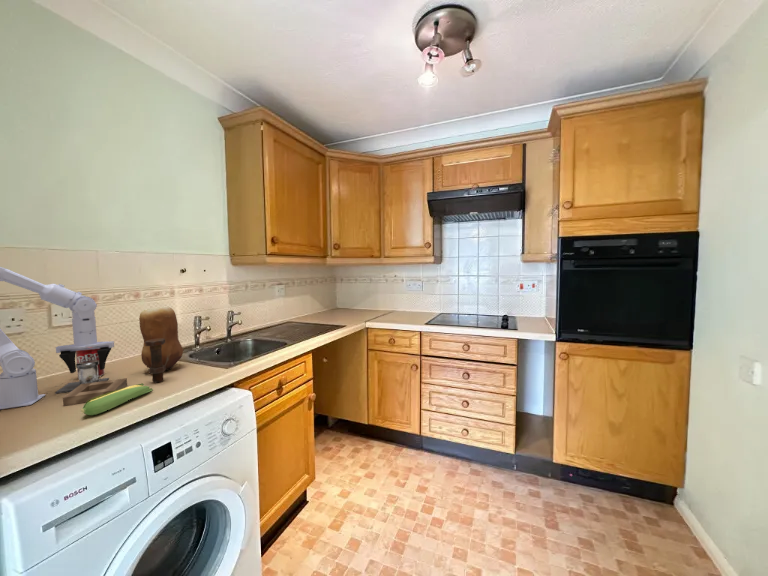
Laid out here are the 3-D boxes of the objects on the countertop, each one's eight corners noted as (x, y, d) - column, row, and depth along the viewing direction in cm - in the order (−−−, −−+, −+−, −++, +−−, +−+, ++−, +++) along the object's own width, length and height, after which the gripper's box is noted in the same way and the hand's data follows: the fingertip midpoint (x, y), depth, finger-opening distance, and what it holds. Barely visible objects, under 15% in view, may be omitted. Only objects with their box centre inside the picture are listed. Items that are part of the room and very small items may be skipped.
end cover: (75, 389, 103) (73, 366, 102) (81, 384, 108) (79, 361, 107) (97, 386, 106) (95, 363, 105) (102, 381, 111) (101, 359, 110)
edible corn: (76, 419, 85) (74, 402, 84) (147, 390, 104) (146, 376, 104) (90, 420, 83) (89, 404, 83) (159, 391, 103) (158, 377, 102)
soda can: (105, 376, 117) (103, 345, 117) (78, 382, 112) (75, 349, 111) (103, 372, 122) (101, 342, 122) (77, 377, 117) (74, 345, 116)
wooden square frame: (63, 406, 92) (62, 397, 92) (81, 391, 103) (81, 384, 103) (115, 398, 97) (114, 390, 97) (127, 385, 108) (126, 378, 108)
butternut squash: (150, 366, 129) (146, 306, 127) (188, 362, 133) (184, 304, 131) (135, 377, 116) (130, 310, 114) (177, 373, 120) (173, 308, 118)
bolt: (165, 377, 115) (162, 337, 114) (170, 380, 112) (167, 339, 111) (146, 382, 110) (143, 340, 109) (150, 385, 107) (147, 342, 106)
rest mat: (55, 393, 102) (55, 392, 101) (69, 384, 110) (68, 382, 110) (99, 387, 106) (99, 386, 106) (109, 379, 114) (108, 377, 114)
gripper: (49, 335, 99) (53, 377, 100) (107, 331, 105) (110, 370, 106) (60, 331, 106) (64, 371, 107) (115, 327, 112) (117, 365, 113)
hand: (88, 370), depth 107 cm, fingers open, 7 cm apart
